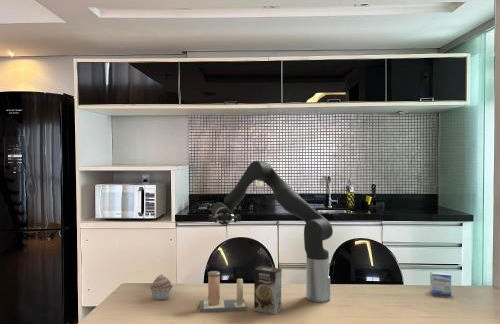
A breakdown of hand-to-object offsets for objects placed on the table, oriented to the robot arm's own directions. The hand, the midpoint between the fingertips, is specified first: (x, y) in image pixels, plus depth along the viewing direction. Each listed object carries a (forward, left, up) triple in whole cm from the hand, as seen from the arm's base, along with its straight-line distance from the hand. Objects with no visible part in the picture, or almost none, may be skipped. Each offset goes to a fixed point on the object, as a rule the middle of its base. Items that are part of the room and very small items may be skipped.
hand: (225, 220), depth 173 cm
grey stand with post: (+2, +16, -32) cm, 36 cm away
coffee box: (-15, +21, -32) cm, 41 cm away
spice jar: (+5, +15, -31) cm, 35 cm away
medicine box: (-94, +9, -32) cm, 100 cm away
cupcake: (+27, +2, -32) cm, 42 cm away
